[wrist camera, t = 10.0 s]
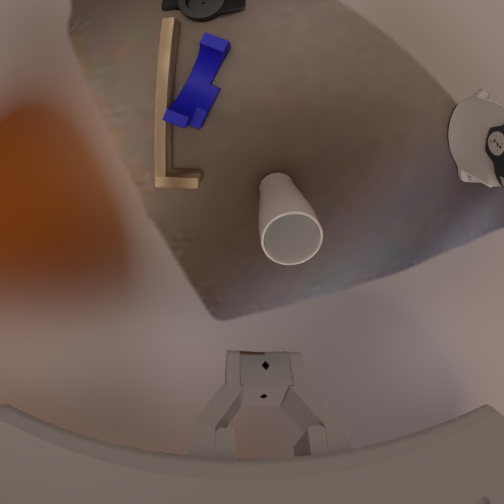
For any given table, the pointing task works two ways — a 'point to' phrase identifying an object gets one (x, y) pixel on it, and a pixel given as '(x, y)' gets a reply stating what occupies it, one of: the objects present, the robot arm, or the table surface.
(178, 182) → the bar
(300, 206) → the drinking glass
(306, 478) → the robot arm
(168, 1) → the black winged round fixture
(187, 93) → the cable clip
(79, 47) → the table surface
